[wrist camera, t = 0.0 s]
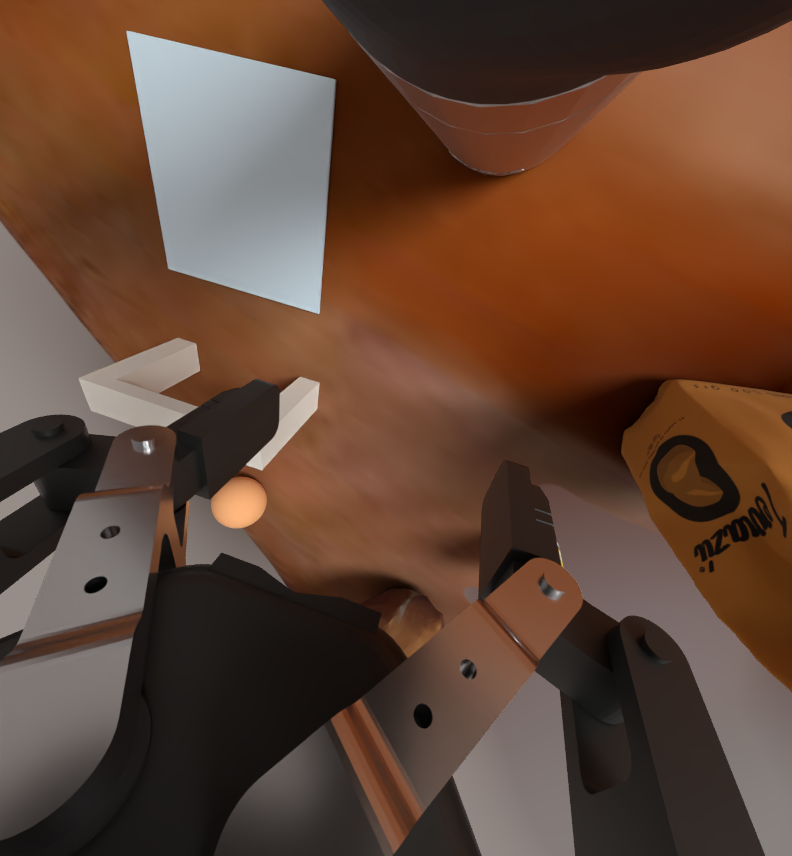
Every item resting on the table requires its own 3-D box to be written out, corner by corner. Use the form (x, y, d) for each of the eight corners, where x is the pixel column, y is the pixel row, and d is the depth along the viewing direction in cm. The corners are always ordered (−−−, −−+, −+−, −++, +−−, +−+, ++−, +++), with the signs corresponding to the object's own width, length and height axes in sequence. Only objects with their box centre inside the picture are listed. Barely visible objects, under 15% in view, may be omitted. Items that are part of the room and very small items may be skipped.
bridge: (177, 337, 33) (77, 377, 25) (319, 382, 32) (260, 440, 24) (183, 365, 35) (90, 410, 27) (317, 408, 33) (261, 470, 26)
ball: (231, 460, 41) (195, 494, 36) (276, 475, 41) (246, 512, 36) (234, 493, 45) (202, 528, 40) (276, 508, 44) (248, 545, 39)
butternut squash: (414, 633, 52) (361, 901, 32) (344, 587, 50) (240, 843, 30) (476, 605, 45) (458, 938, 24) (396, 551, 43) (304, 863, 22)
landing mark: (129, 31, 21) (126, 30, 21) (336, 80, 20) (334, 79, 20) (170, 268, 29) (168, 268, 29) (319, 313, 28) (318, 313, 28)
